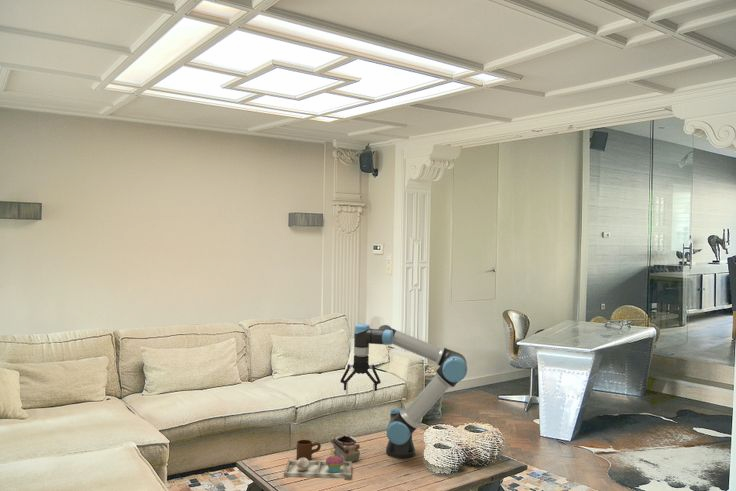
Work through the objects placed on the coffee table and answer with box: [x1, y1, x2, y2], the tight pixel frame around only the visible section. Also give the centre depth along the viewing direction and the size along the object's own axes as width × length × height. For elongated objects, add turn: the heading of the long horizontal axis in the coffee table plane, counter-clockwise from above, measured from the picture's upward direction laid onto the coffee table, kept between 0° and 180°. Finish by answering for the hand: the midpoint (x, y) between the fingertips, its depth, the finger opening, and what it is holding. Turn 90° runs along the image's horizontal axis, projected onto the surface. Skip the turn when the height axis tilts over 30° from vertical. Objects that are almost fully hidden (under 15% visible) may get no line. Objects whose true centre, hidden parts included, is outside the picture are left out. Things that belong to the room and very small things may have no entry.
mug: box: [296, 439, 322, 461], centre depth 305 cm, size 12×8×9 cm, turn 99°
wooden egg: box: [297, 457, 309, 471], centre depth 290 cm, size 6×6×6 cm
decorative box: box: [330, 434, 361, 463], centre depth 311 cm, size 13×20×10 cm, turn 20°
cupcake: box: [325, 447, 345, 473], centre depth 290 cm, size 9×8×12 cm
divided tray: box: [283, 459, 352, 481], centre depth 290 cm, size 31×16×2 cm, turn 91°
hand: (360, 397), depth 308 cm, fingers open, 13 cm apart
